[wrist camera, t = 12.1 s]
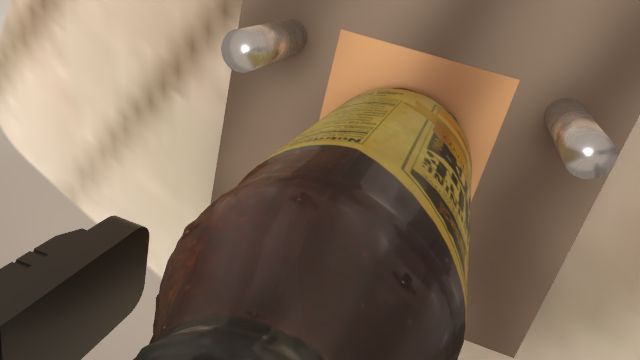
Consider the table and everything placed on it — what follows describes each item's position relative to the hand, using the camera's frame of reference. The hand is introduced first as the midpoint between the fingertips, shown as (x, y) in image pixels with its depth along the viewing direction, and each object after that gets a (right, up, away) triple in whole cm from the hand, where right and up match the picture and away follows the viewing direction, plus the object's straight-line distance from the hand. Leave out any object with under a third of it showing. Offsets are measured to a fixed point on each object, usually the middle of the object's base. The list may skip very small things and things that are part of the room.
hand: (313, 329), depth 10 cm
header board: (+4, +5, +12) cm, 14 cm away
